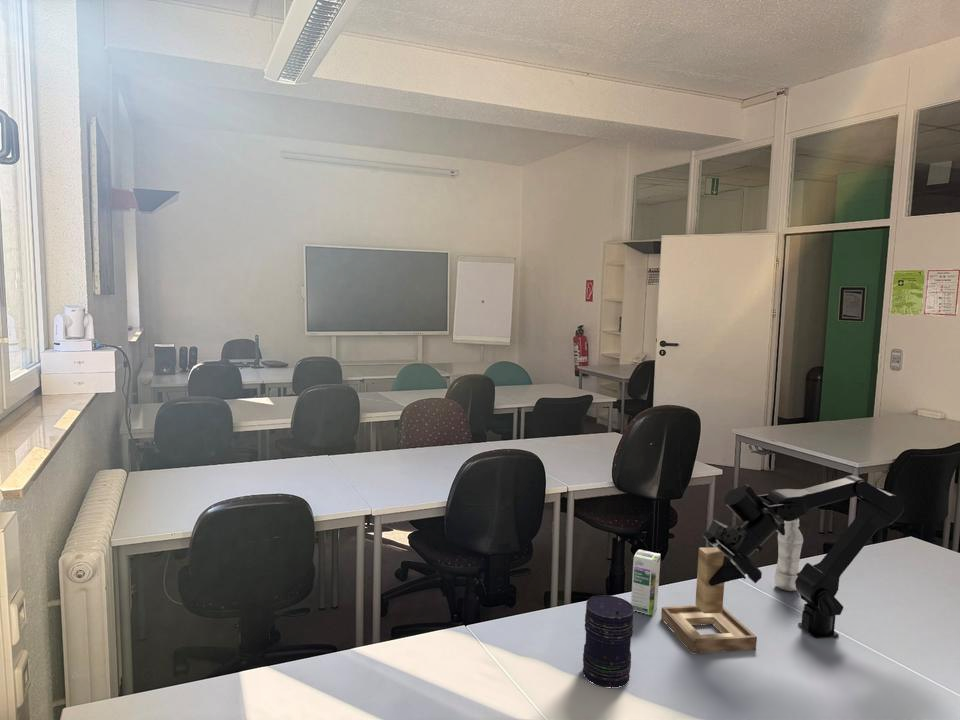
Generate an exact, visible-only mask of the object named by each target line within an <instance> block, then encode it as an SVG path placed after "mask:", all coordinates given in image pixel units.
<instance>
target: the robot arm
mask: <svg viewBox="0 0 960 720" xmlns="http://www.w3.org/2000/svg"><path fill="white" fill-rule="evenodd" d="M855 497H856V498H857V499H859V502H858V504H857V513H856V516H855V518H854V519H853V520H852V522H851V523H850V524H849V525H848V527H847V528H846V529H845V530H844V532H843V533H842V534H841V536H840V537H838V539H837V541H836V542H835V543H834V544H833V546H832V547H831V548H830V549H829V551H828V552H827V553H826V554H825V556H824V557H823V558H822V560H821V561H820V562H819V563H816V564H811V563H809V562H807V563H805V564H804V565H803V567H802V569H801V570H799V573H798V574H796V575H797V576H798V577H797V579H796V581H795V584H796V589H797V590H796V592H797V593H798V594H799V596H800V599H801V600H803V601H804V602H806V603H804V606H803V610H802V614H801V622H798V623H797V626H799V627H800V628H801V629H802V630H804V631H805V632H806V633H808V634H809V635H810V636H811V637H813V638H814V639H824V638H825V639H827V638H828V639H829V638H839V636H840V635H839V633H838V632H836V631H835V625H836V616H840V615H841V614H842V612H843V609H844V605H843V604H841V603H840V601H839V600H838V599H837V598H836V594H837V593H838V591H839V587H840V577H841V576H842V574H843V573H844V572H845V571H846V569H847V568H849V566H850V565H851V563H852V562H853V561H854V559H855V558H856V557H857V556H858V555H859V553H861V551H862V549H864V547H865V546H866V545H867V543H868V542H869V541H870V540H871V539H872V537H873V536H874V535H875V533H876V532H877V531H878V530H880V529H882V528H885V527H887V526H890V525H892V524H893V523H894V522H895V521H896V520H897V519H898V518H899V517H900V516H901V515H902V513H903V512H904V509H905V507H904V503H903V499H902V498H900V497H899V496H897V495H895V494H893V493H891V492H888V491H886V490H884V489H881V488H879V487H875V486H873V485H872V484H870V483H869V482H868V481H866V480H864V479H862V478H860V477H858V476H856V475H846V476H845V477H843V478H839V479H836V480H832V481H828V482H825V483H821V484H817V485H813V486H809V487H806V488H799V489H795V488H794V489H793V488H781V489H773V490H771V491H770V492H768V493H767V494H758V495H757V494H756V492H755V491H754V489H753V488H752V487H751V486H750V485H748V484H746V483H745V484H743V485H742V486H738V487H736V488H734V489H731V490H729V491H728V492H727V494H725V497H724V500H723V501H724V502H723V503H724V504H725V505H726V506H727V507H728V509H730V511H732V512H733V514H735V516H736V517H737V518H738V519H739V520H740V521H742V522H744V523H743V524H742V525H741V526H740V525H738V524H735V525H734V526H732V525H726V524H724V523H721V522H720V521H718V520H716V519H712V521H711V523H710V525H709V527H708V529H707V531H705V533H703V534H702V537H704V538H705V540H706V541H707V543H706V544H707V546H708V548H712V547H717V548H718V549H720V550H721V551H722V552H723V553H724V554H726V557H725V556H724V561H723V565H722V567H721V568H720V569H719V570H718V571H717V572H716V573H715V575H714V576H713V577H712V578H711V579H710V581H709V582H708V583H709V584H710V585H711V586H714V585H717V584H721V583H724V584H725V583H726V582H727V583H729V582H731V581H734V580H740V579H743V580H745V579H746V578H748V579H749V580H751V581H752V582H753V583H754V584H757V583H758V582H759V581H760V580H761V579H762V575H763V574H762V573H763V572H762V571H761V570H760V568H759V567H757V565H756V564H755V563H754V562H753V561H752V560H751V559H750V558H749V557H750V556H751V555H752V554H753V553H755V551H758V552H762V550H763V547H762V545H763V544H764V543H765V542H766V541H767V540H768V539H769V538H770V537H771V536H772V535H773V534H775V532H777V534H778V533H780V534H781V535H785V529H784V526H785V524H784V522H785V521H793V520H795V519H800V518H803V517H804V516H805V515H806V514H807V513H808V512H809V511H811V510H812V509H814V508H818V507H821V506H822V507H823V506H825V505H830V504H833V503H837V502H841V501H844V500H849V499H851V498H855ZM764 510H765V511H767V512H765V511H764ZM768 512H769V513H768ZM773 515H774V516H776V517H778V518H780V519H781V520H784V522H783V521H781V520H777V519H776V518H775V517H774V516H773ZM729 558H730V559H729ZM746 576H747V577H746Z"/></svg>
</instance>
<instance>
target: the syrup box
mask: <svg viewBox="0 0 960 720" xmlns="http://www.w3.org/2000/svg"><path fill="white" fill-rule="evenodd" d="M632 559H633V560H632V561H633V563H632V583H631V598H630V600H631V601H630V604H631V605H632V606H633V608H634V612H635V611H637V612H636V613H638V612H641V613H640V614H642V613H645V614H644V615H646V614H649V615H653V616H654V614H655V612H656V610H657V608H658V600H659V599H658V598H659V585H660V570H661V569H660V568H661V553H659V552H658V553H657V552H652V551H648V550H644V549H638V550H637V551H636V552H635V554H634V556H633V558H632ZM649 615H648V616H649Z"/></svg>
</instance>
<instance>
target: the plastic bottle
mask: <svg viewBox="0 0 960 720" xmlns="http://www.w3.org/2000/svg"><path fill="white" fill-rule="evenodd" d="M783 523H784V524H785V526H784V529H785V535H781V534H780V533H778V532H777V545H778V556H777V557H778V558H777V563H776V569H775V572H774V576H773V579H774V581H773V582H774V584H775V586H776V587H777V588H778V589H781V590H783V591H786V592H795V591H797V589H796V584H795V581H796V579H797V577H798V576H797V575H796V574H798V573H799V572H800V558H801V551H802V547H803V543H804V537H803V533H801V530H800V529H799V527H800V518H798V519H795V520H793V521H785V520H784V522H783Z"/></svg>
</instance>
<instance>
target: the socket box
mask: <svg viewBox="0 0 960 720" xmlns="http://www.w3.org/2000/svg"><path fill="white" fill-rule="evenodd" d="M660 614H661V615H660V616H661V617H660V619H661V618H662V619H663V620H664V621H665V622H666V623H667V625H668V626H669V627H670V628H671V629H672V630H673V631H674V633H675V634H676V635H677V636H678V637H679V638H678V637H677V636H676V635H675V634H674V633H673V634H674V635H675V636H676V637H677V638H678V639H680V640H681V641H682V642H683V643H684V644H685V645H686V646H687V647H686V646H685V645H684V644H683V643H682V642H681V643H682V644H683V645H684V646H685V647H686V648H687V650H688V649H689V650H690V651H691V652H692V653H697V654H706V653H705V652H712V653H723V652H722V651H727V652H740V651H751V650H757V641H758V637H757V635H756V634H755V633H753V632H752V631H751V630H750V629H749V628H748V627H747V626H745V625H744V624H743V623H742V622H741V621H740V620H738V618H736V617H735V616H734V615H733V614H732V613H731V612H730V611H729V610H727V609H726V608H725V607H724V606H723V610H722V613H703V612H702V611H701V610H700V609H699V608H698V607H697V605H696V604H695V605H679V606H663V607H661V612H660ZM662 619H661V620H662ZM663 620H662V621H663ZM701 624H702V625H701ZM703 624H714V625H715V626H716V627H717V628H718V629H719V630H718V629H717V628H716V627H715V626H714V625H713V626H714V627H715V628H716V629H717V630H718V631H719V632H720V631H721V632H722V633H721V632H720V633H707V634H701V633H700V632H698V631H697V629H696V628H695V627H694V626H692V625H699V626H704V625H703ZM667 625H666V626H667ZM668 626H667V627H668ZM669 627H668V628H669ZM670 628H669V629H670ZM671 629H670V630H671ZM680 640H679V641H680ZM689 650H688V651H689ZM690 651H689V652H690ZM691 652H690V653H691ZM701 652H702V653H701ZM692 653H691V654H692Z"/></svg>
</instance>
